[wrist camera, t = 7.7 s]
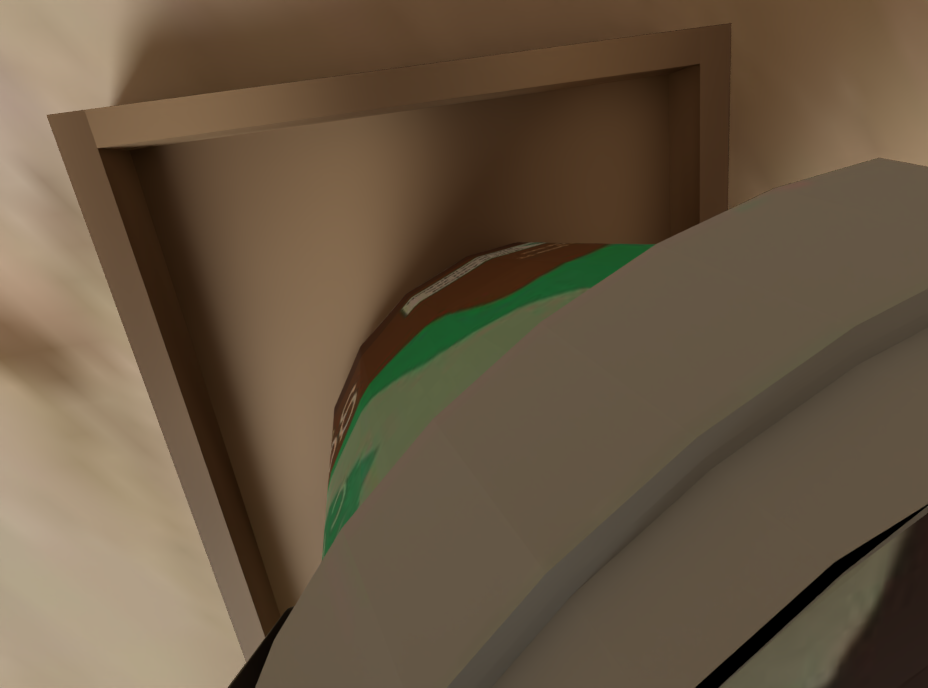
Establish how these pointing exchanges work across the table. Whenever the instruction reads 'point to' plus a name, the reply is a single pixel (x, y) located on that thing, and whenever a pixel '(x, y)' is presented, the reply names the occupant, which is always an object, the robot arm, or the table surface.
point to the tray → (360, 243)
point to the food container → (641, 462)
